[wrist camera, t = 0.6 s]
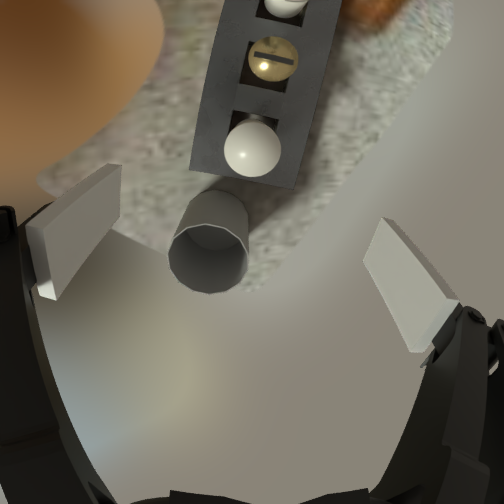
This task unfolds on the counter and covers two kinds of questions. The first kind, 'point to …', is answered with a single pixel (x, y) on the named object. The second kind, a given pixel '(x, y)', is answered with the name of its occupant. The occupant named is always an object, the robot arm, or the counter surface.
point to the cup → (211, 244)
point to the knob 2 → (284, 7)
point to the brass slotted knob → (273, 59)
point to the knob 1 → (252, 148)
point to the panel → (259, 99)
